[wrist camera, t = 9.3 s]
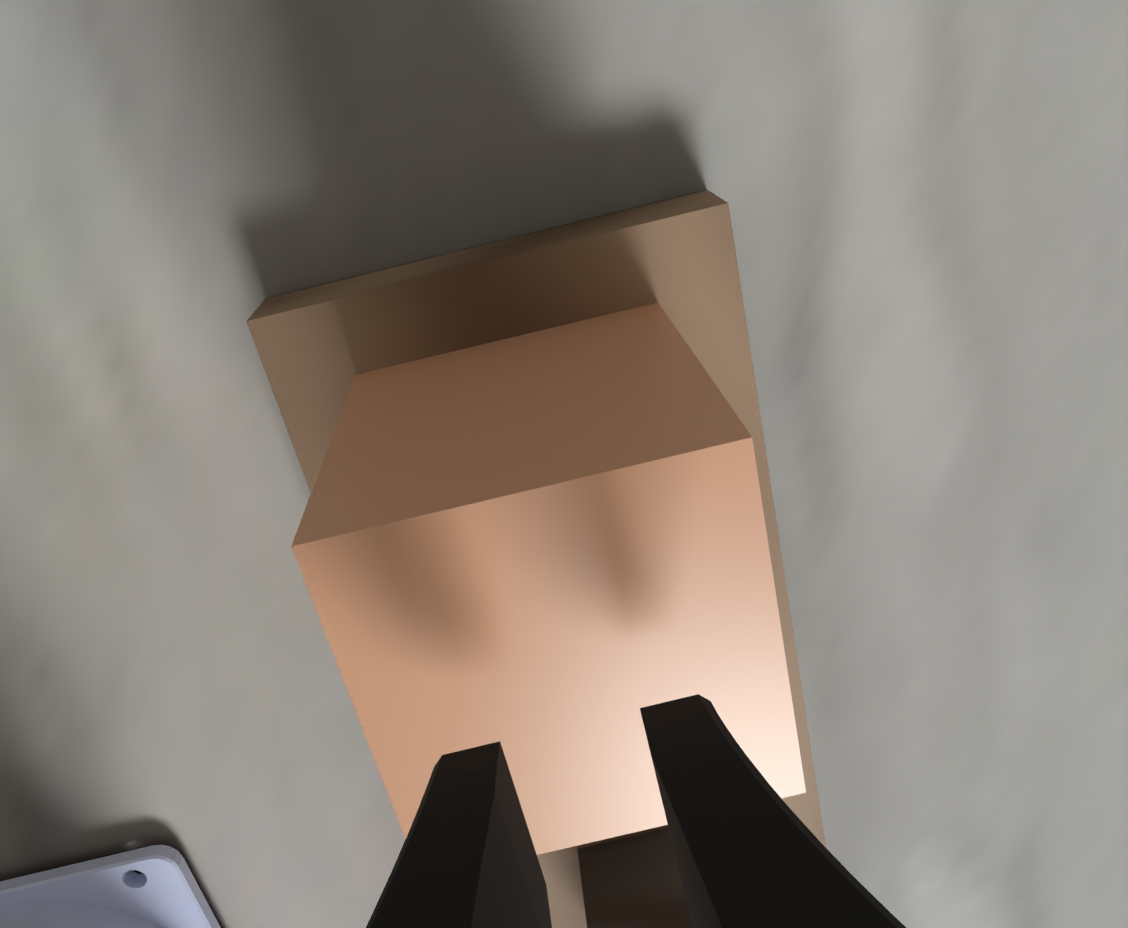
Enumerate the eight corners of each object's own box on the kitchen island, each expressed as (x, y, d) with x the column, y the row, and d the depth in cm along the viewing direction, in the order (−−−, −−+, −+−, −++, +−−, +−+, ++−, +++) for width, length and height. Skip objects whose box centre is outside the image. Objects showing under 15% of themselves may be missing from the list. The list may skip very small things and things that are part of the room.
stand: (512, 979, 24) (523, 1252, 19) (265, 298, 17) (163, 420, 11) (822, 907, 24) (923, 1161, 19) (707, 189, 17) (818, 261, 11)
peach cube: (438, 628, 18) (421, 881, 13) (355, 374, 16) (291, 546, 11) (706, 565, 18) (805, 792, 13) (658, 302, 16) (752, 437, 10)
